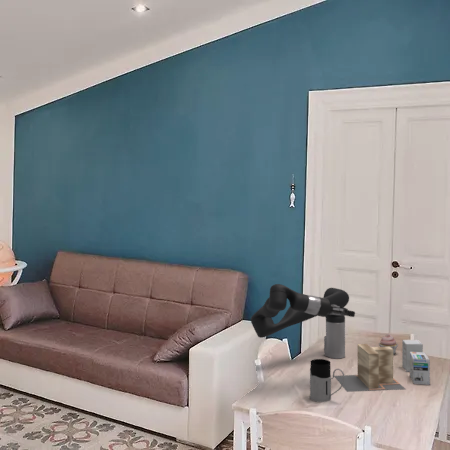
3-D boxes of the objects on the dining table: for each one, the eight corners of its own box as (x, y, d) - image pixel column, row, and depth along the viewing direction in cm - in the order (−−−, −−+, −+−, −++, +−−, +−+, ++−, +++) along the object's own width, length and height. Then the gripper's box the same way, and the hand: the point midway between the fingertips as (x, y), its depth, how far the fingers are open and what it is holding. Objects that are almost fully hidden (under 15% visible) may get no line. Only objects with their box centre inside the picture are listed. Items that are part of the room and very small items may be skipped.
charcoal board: (346, 394, 209) (346, 391, 209) (333, 378, 228) (333, 375, 228) (406, 391, 211) (406, 388, 211) (388, 376, 230) (388, 373, 230)
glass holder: (316, 394, 209) (316, 357, 208) (349, 403, 200) (349, 363, 199) (304, 401, 202) (304, 362, 201) (338, 410, 193) (338, 369, 192)
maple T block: (368, 388, 212) (368, 353, 212) (357, 376, 226) (357, 344, 226) (398, 387, 213) (398, 352, 212) (384, 375, 227) (385, 343, 226)
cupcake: (376, 355, 261) (376, 334, 260) (380, 350, 269) (380, 330, 269) (396, 357, 257) (396, 336, 256) (399, 352, 265) (399, 332, 264)
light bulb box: (430, 385, 218) (430, 359, 217) (412, 384, 219) (413, 358, 219) (425, 376, 228) (425, 351, 228) (409, 375, 230) (409, 351, 229)
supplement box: (418, 366, 242) (418, 339, 241) (423, 372, 234) (423, 343, 234) (401, 366, 242) (402, 339, 242) (405, 371, 235) (405, 343, 234)
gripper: (307, 315, 222) (345, 323, 225) (321, 314, 209) (360, 323, 213) (310, 297, 223) (347, 305, 227) (323, 295, 211) (363, 304, 214)
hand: (353, 314), depth 220 cm, fingers closed
